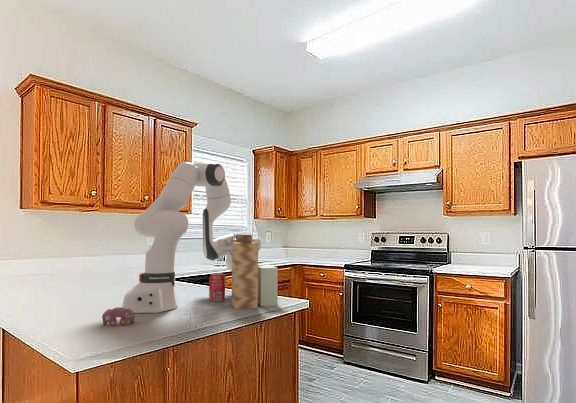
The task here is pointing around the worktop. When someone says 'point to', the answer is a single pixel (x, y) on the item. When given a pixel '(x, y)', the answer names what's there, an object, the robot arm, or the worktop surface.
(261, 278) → the pale green block
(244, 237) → the walnut rod
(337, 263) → the worktop surface
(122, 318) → the video game controller
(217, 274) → the soda can
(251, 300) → the oak stand
